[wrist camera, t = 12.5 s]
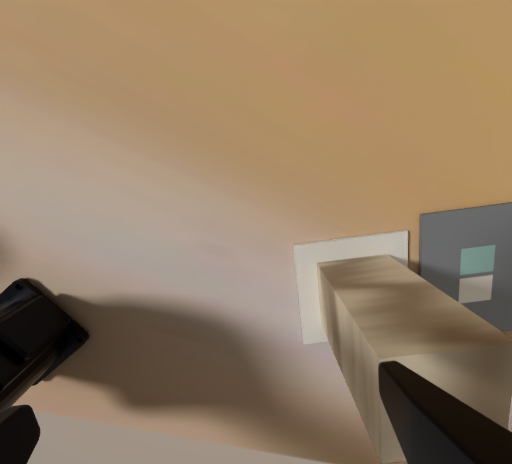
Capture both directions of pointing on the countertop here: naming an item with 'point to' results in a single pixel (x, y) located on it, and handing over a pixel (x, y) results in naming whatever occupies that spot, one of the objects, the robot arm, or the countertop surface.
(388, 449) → the birch block
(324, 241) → the pad
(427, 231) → the gray tile
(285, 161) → the countertop surface
